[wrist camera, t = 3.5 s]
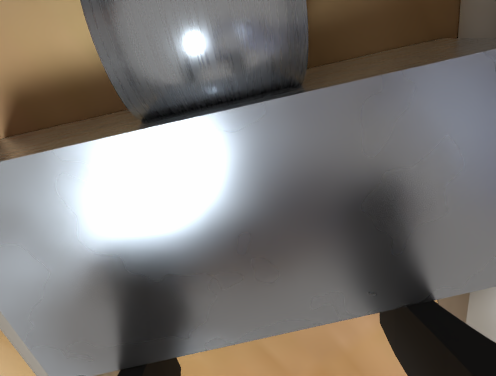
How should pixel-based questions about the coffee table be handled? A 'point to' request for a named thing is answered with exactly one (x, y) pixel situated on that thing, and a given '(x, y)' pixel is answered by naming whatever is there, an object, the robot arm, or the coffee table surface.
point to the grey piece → (244, 187)
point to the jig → (462, 306)
